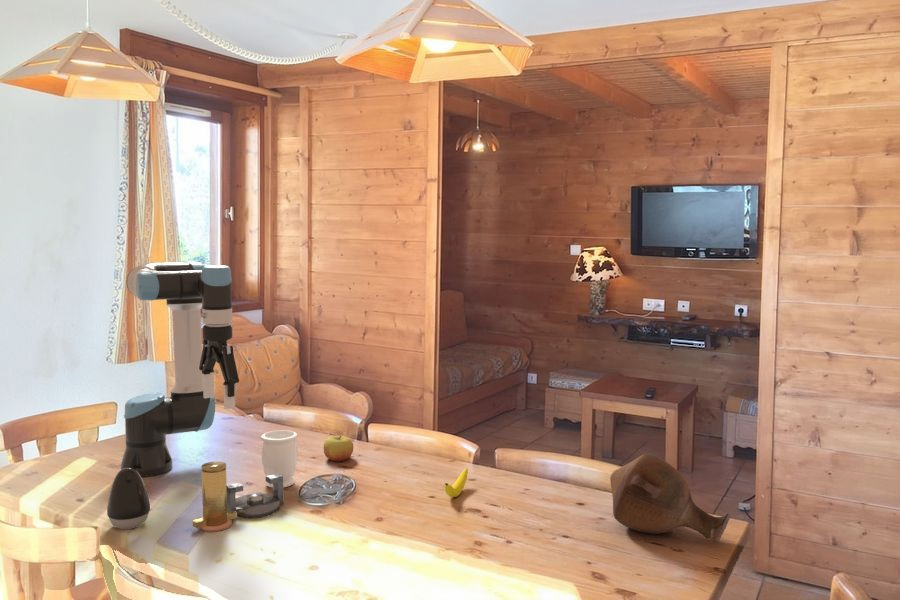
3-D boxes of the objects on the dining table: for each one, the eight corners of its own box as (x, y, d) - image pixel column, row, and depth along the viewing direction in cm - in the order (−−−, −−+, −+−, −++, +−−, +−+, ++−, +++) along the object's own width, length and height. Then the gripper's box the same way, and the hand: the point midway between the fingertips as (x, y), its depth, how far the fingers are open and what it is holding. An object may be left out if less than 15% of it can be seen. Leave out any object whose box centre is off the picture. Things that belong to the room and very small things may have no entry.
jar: (289, 491, 226) (288, 440, 225) (256, 488, 228) (255, 438, 227) (303, 479, 237) (302, 430, 235) (271, 476, 239) (270, 428, 237)
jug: (591, 529, 200) (707, 578, 184) (599, 463, 193) (720, 509, 177) (623, 491, 216) (732, 534, 200) (631, 430, 209) (745, 469, 193)
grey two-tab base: (217, 509, 212) (217, 480, 211) (269, 496, 222) (269, 468, 221) (239, 523, 202) (238, 493, 201) (292, 509, 212) (291, 480, 211)
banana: (471, 484, 233) (471, 463, 232) (451, 506, 215) (451, 484, 215) (462, 483, 234) (462, 462, 233) (441, 505, 216) (441, 482, 215)
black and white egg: (109, 536, 194) (106, 477, 192) (106, 522, 203) (103, 465, 201) (153, 529, 198) (151, 471, 197) (148, 515, 207) (146, 459, 206)
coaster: (194, 524, 201) (194, 521, 201) (223, 517, 206) (223, 513, 206) (206, 534, 195) (206, 530, 195) (236, 526, 200) (236, 522, 200)
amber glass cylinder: (189, 523, 199) (188, 466, 198) (230, 513, 207) (229, 458, 205) (199, 530, 195) (197, 472, 193) (240, 520, 202) (239, 463, 200)
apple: (359, 458, 257) (359, 434, 257) (340, 466, 249) (340, 441, 248) (336, 453, 263) (336, 430, 262) (317, 460, 255) (316, 436, 254)
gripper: (185, 319, 213) (187, 395, 216) (223, 332, 194) (224, 415, 197) (212, 317, 218) (213, 391, 221) (251, 329, 199) (252, 410, 202)
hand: (219, 402), depth 209 cm, fingers open, 13 cm apart
